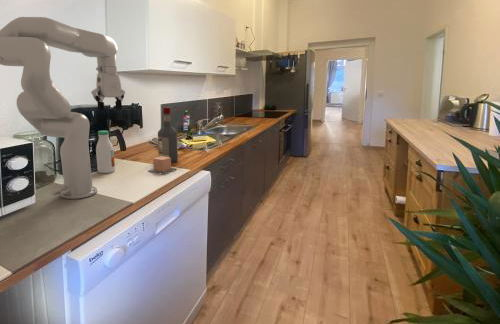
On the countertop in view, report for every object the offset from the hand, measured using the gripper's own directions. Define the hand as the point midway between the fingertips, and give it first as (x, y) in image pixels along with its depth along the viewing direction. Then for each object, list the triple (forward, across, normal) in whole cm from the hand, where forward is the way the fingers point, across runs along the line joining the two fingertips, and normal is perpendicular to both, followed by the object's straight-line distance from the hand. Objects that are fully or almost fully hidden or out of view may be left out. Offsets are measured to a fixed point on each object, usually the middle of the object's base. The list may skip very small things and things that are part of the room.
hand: (110, 110), depth 138 cm
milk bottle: (+31, +2, +8) cm, 32 cm away
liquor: (+31, +34, -4) cm, 46 cm away
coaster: (+30, +17, -14) cm, 37 cm away
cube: (+30, +17, -14) cm, 37 cm away
